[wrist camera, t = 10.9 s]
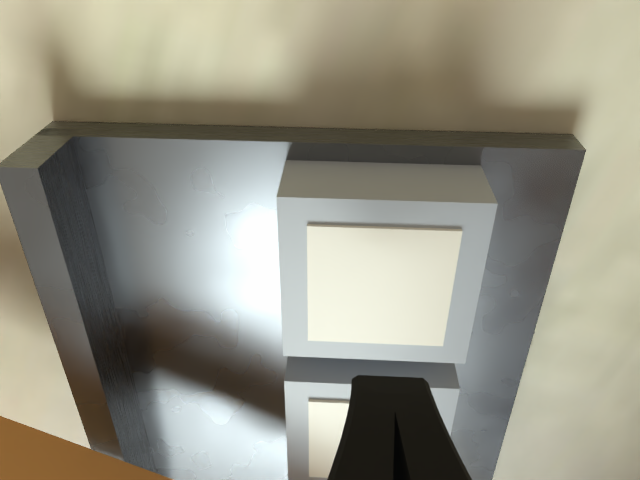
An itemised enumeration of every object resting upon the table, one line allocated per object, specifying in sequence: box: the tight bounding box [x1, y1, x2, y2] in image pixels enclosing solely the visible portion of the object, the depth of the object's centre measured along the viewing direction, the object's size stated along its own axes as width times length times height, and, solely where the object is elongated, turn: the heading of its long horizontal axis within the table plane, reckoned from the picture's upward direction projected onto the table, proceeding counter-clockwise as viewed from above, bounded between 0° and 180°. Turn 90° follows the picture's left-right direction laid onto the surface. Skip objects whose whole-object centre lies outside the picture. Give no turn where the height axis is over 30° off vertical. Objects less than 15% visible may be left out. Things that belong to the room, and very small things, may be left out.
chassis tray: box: [0, 121, 586, 480], centre depth 18 cm, size 14×17×4 cm
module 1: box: [276, 160, 498, 364], centre depth 15 cm, size 5×5×2 cm
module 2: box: [284, 356, 460, 480], centre depth 18 cm, size 5×5×2 cm
